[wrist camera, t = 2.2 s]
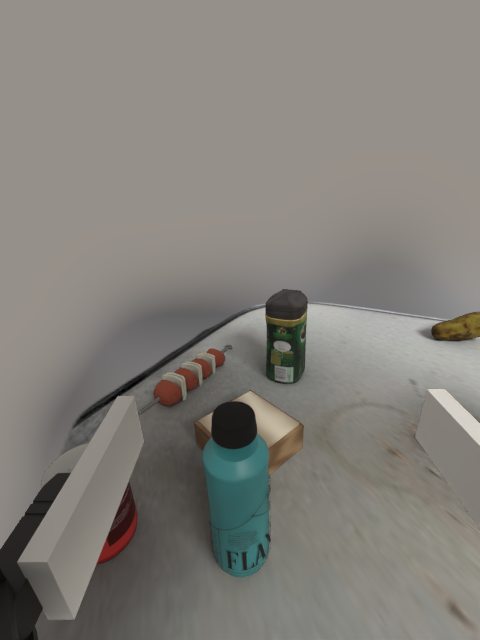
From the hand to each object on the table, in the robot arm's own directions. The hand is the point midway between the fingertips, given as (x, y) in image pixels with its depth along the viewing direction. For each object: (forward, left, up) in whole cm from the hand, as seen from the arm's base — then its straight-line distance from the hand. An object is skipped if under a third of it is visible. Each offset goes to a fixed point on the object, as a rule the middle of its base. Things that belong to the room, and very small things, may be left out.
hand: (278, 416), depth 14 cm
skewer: (-18, -42, -29) cm, 54 cm away
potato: (-78, -9, -28) cm, 84 cm away
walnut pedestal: (-15, -20, -28) cm, 38 cm away
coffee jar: (-35, -30, -28) cm, 55 cm away
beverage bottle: (-4, -9, -28) cm, 30 cm away
